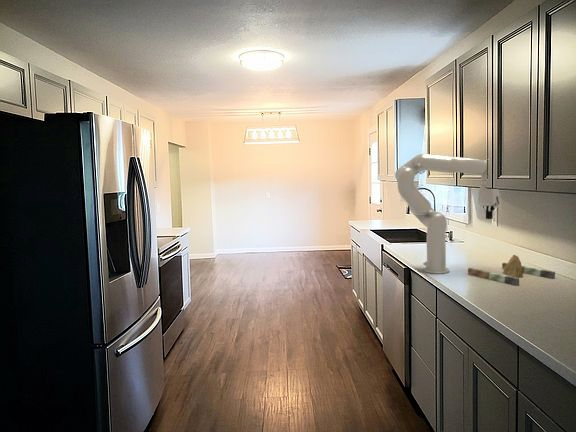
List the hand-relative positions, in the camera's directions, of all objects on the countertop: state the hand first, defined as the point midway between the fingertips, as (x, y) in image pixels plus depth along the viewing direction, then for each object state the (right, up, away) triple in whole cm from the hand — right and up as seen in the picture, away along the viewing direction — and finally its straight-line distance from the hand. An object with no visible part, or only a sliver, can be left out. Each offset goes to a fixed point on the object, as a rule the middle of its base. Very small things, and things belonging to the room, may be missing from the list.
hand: (489, 218), depth 232 cm
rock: (+6, -28, -12) cm, 31 cm away
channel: (+4, -28, -14) cm, 32 cm away
